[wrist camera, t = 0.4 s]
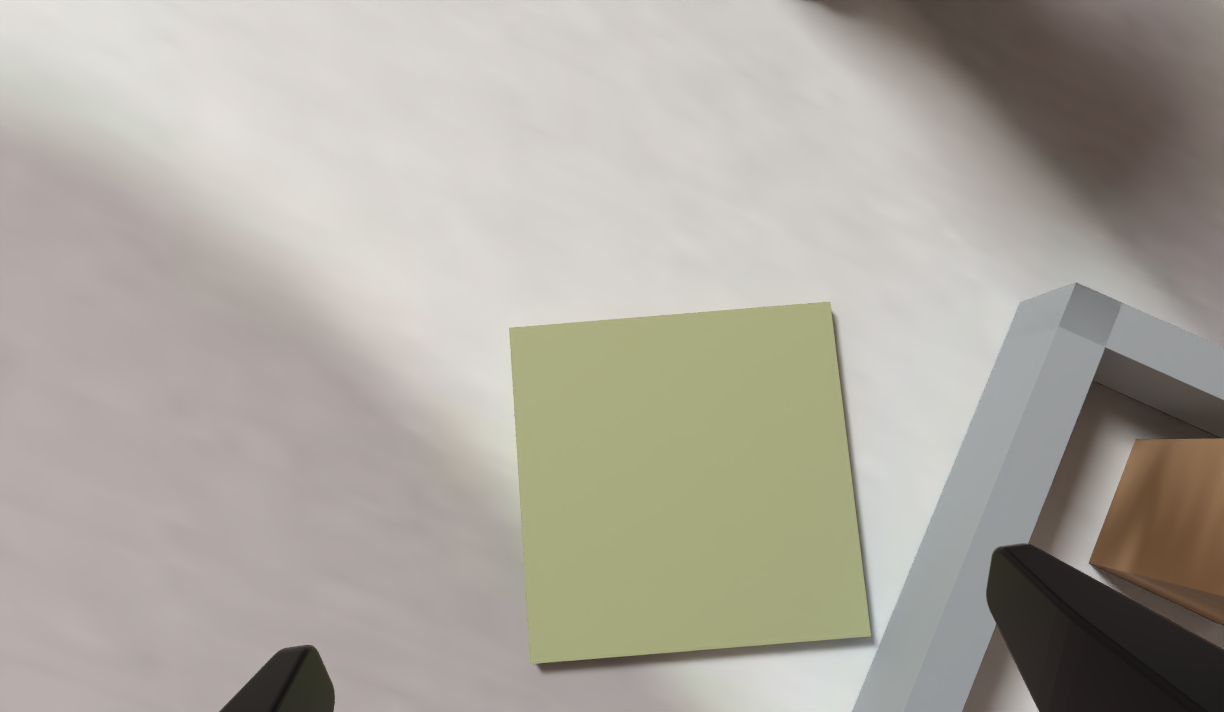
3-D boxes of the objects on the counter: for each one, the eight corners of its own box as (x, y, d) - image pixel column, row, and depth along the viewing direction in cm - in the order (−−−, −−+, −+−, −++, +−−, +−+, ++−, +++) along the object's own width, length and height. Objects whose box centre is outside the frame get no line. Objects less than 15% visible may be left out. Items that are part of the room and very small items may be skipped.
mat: (865, 631, 23) (871, 636, 23) (532, 659, 23) (530, 664, 23) (825, 304, 25) (830, 301, 24) (511, 330, 25) (509, 327, 24)
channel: (1266, 1029, 22) (1369, 1122, 19) (815, 802, 23) (844, 856, 20) (1443, 490, 24) (1561, 496, 21) (1020, 302, 24) (1076, 282, 22)
